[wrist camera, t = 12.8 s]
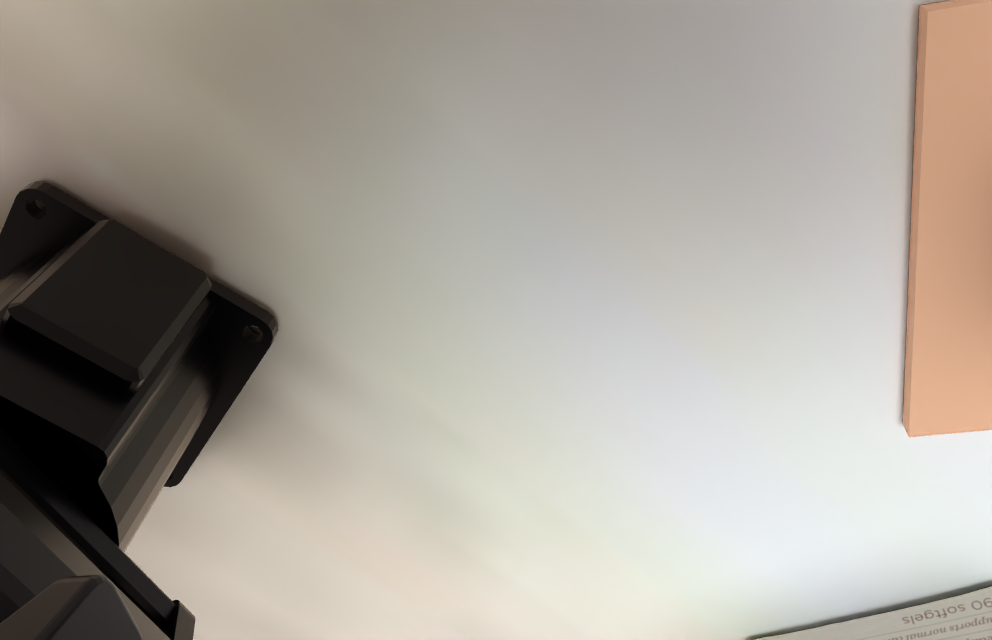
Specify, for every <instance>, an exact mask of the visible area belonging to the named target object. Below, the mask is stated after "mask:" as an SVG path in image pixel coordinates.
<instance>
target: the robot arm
mask: <svg viewBox="0 0 992 640" xmlns="http://www.w3.org/2000/svg"><path fill="white" fill-rule="evenodd" d="M35 199H38V200H41V201H42V202H43V203H44V204H45V205H46V207H47V209H48V212H46V211H43V210H42V209H40V208H39V207H38V206H37V204H36V202H35ZM249 325H253V326H256V327H258V328H259V329H260V330H261V331H262V333H263V334H259V335H258V334H255V333H253V332H252V331H251V330H250V329H249V327H248V326H249ZM277 332H278V326H277V322H276V321H275V319H274V317H273V316H272V315H271V314H269V313H268V312H267V311H265V310H264V309H262V308H260V307H258V306H257V305H255V304H253V303H252V302H250V301H248V300H247V299H245V298H243V297H241V296H240V295H238V294H236V293H235V292H233V291H231V290H230V289H228V288H226V287H225V286H223V285H221V284H219V283H218V282H216V281H214V280H213V279H211V278H209V277H208V276H207V275H206V274H205V273H203V272H202V271H200V270H198V269H196V268H195V267H193V266H191V265H190V264H188V263H186V262H185V261H183V260H181V259H179V258H178V257H176V256H174V255H173V254H171V253H169V252H168V251H166V250H164V249H163V248H161V247H159V246H157V245H156V244H154V243H152V242H151V241H149V240H147V239H146V238H144V237H142V236H141V235H139V234H137V233H135V232H134V231H132V230H130V229H129V228H127V227H125V226H124V225H122V224H120V223H119V222H117V221H115V220H111V219H109V218H108V217H106V216H104V215H102V214H101V213H99V212H97V211H96V210H94V209H92V208H91V207H89V206H87V205H86V204H84V203H82V202H80V201H79V200H77V199H75V198H74V197H72V196H70V195H69V194H67V193H65V192H63V191H62V190H60V189H58V188H57V187H55V186H53V185H51V184H48V183H46V182H34V183H32V184H29V185H28V186H27V187H25V188H24V189H23V190H21V191H20V192H19V194H18V195H17V196H16V198H15V200H14V203H13V205H12V208H11V210H10V212H9V215H8V217H7V220H6V222H5V224H4V227H3V229H2V232H1V234H0V640H193V633H194V626H195V616H194V615H193V614H192V613H191V612H190V611H189V610H188V609H187V608H186V607H185V606H184V605H183V604H182V603H181V602H180V601H178V600H173V601H172V600H171V599H170V598H169V597H168V596H167V595H166V594H165V593H164V592H163V591H162V590H161V589H160V588H159V587H158V586H157V585H156V584H155V583H154V582H153V581H152V580H151V579H150V578H149V577H148V576H147V575H146V574H145V573H144V572H143V571H142V570H141V569H140V568H139V567H138V566H137V565H136V564H135V563H134V562H133V561H132V560H131V559H130V558H129V557H128V556H127V555H126V554H125V553H124V552H125V550H126V548H127V547H128V545H129V543H130V542H131V540H132V538H133V537H134V535H135V533H136V532H137V530H138V528H139V527H140V525H141V523H142V522H143V520H144V518H145V517H146V515H147V513H148V512H149V510H150V508H151V506H152V505H153V503H154V501H155V500H156V498H157V496H158V495H159V493H160V491H161V490H162V488H163V486H165V487H172V486H176V485H178V484H179V483H180V482H181V481H182V479H183V478H184V476H185V474H186V473H187V471H188V470H189V468H190V467H191V465H192V464H193V462H194V461H195V459H196V458H197V456H198V455H199V453H200V452H201V450H202V449H203V447H204V446H205V444H206V443H207V441H208V440H209V438H210V437H211V435H212V434H213V432H214V431H215V429H216V428H217V426H218V425H219V423H220V422H221V420H222V418H223V417H224V415H225V414H226V412H227V411H228V409H229V408H230V406H231V405H232V403H233V402H234V400H235V399H236V397H237V396H238V394H239V393H240V391H241V390H242V388H243V387H244V385H245V384H246V382H247V381H248V379H249V378H250V376H251V375H252V373H253V372H254V370H255V369H256V367H257V366H258V364H259V362H260V361H261V359H262V358H263V356H264V355H265V353H266V352H267V350H268V349H269V347H270V346H271V344H272V342H273V341H274V339H275V337H276V335H277Z"/></svg>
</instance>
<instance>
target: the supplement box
mask: <svg viewBox="0 0 992 640" xmlns="http://www.w3.org/2000/svg"><path fill="white" fill-rule="evenodd" d="M755 640H992V586H991V587H988V588H984V589H981V590H977V591H974V592H970V593H967V594H963V595H959V596H955V597H951V598H947V599H943V600H938V601H934V602H930V603H926V604H922V605H918V606H913V607H909V608H905V609H900V610H896V611H892V612H887V613H882V614H878V615H873V616H868V617H863V618H858V619H854V620H849V621H845V622H840V623H835V624H829V625H825V626H821V627H817V628H812V629H807V630H802V631H797V632H792V633H787V634H782V635H777V636H768V637H763V638H758V639H755Z"/></svg>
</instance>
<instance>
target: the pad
mask: <svg viewBox="0 0 992 640" xmlns="http://www.w3.org/2000/svg"><path fill="white" fill-rule="evenodd" d="M903 425H904V428H905V430H906V432H907V434H908V436H909V437H916V436H927V435H939V434H950V433H961V432H973V431H984V430H992V0H950V1H944V2H938V3H932V4H926V5H920V8H919V33H918V58H917V84H916V109H915V134H914V159H913V184H912V209H911V234H910V259H909V284H908V309H907V334H906V359H905V384H904V410H903Z"/></svg>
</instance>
